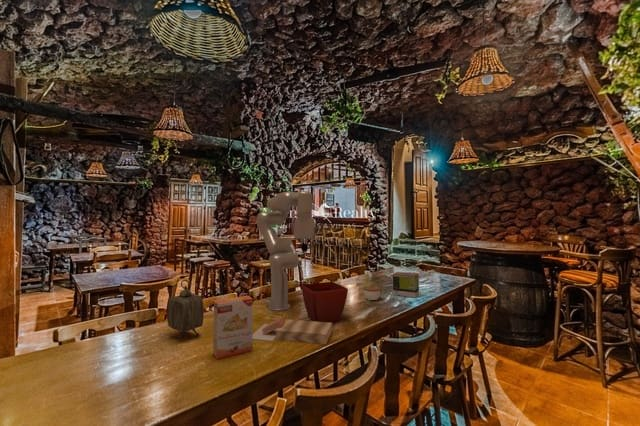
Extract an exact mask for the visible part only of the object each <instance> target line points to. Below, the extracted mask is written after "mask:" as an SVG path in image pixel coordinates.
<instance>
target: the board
mask: <svg viewBox="0 0 640 426" xmlns="http://www.w3.org/2000/svg"><path fill="white" fill-rule="evenodd" d="M284 320H285V323H284V324H283V325H282V326H281V327H279V328H278V329H277V330H276V338H275V340H277V341H287V342H288V341H289V342H299V343H300V342H301V343H309V344H311V343H312V344H319V345H320V344H321V345H327V343H328V341H329V339H330V338H331V334H332V333H333V322H315V321H313V320H301V319H287V318H286V319H284Z"/></svg>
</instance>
